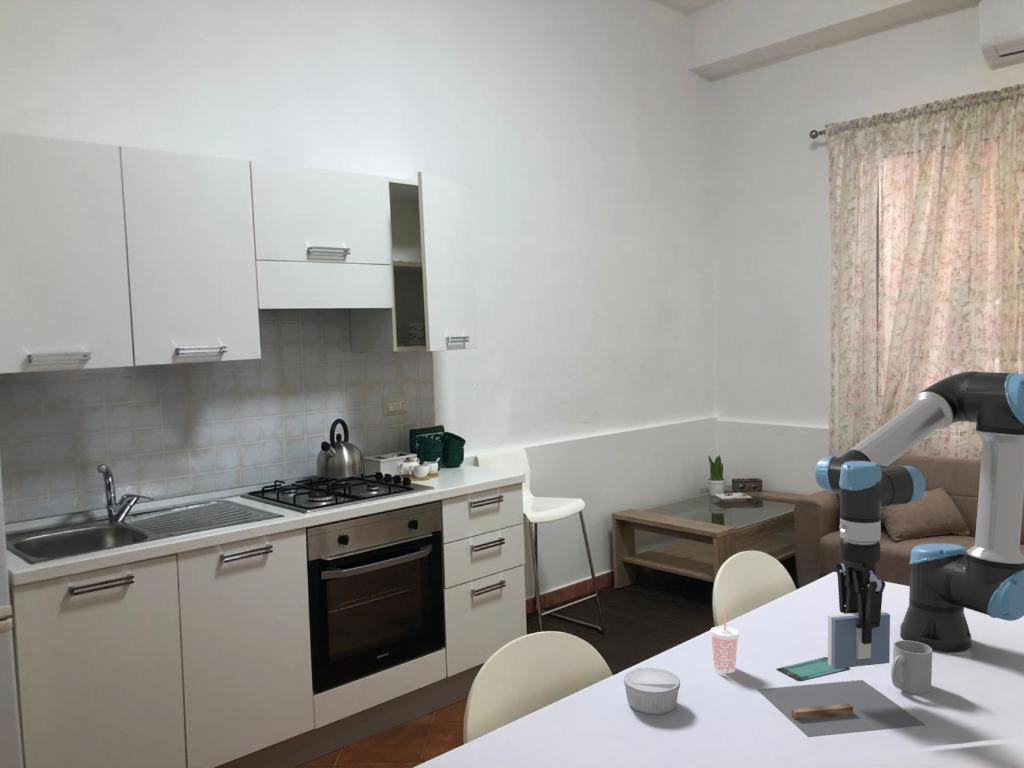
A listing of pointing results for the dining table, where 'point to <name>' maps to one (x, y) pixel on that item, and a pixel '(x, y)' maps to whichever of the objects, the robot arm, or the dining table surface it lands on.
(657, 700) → the ramekin
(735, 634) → the beverage cup
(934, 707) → the dining table surface
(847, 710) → the strip
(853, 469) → the robot arm
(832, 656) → the blue-grey flat block
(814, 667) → the smartphone
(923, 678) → the cup
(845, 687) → the mat
